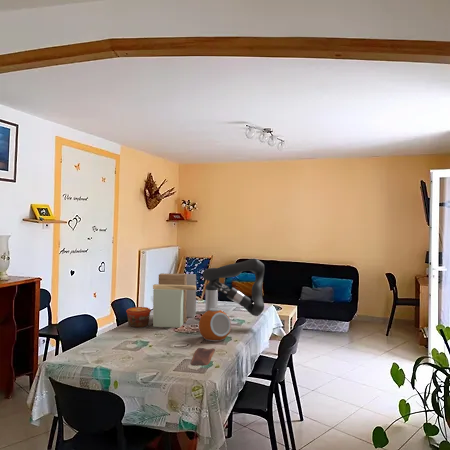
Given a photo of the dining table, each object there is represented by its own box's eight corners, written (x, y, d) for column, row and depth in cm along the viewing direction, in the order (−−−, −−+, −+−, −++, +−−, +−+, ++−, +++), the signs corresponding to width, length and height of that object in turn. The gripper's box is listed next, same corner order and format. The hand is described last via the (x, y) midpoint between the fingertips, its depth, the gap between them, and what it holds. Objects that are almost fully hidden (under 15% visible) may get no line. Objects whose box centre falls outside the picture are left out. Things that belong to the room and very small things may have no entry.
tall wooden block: (159, 318, 298) (160, 273, 297) (188, 319, 296) (188, 273, 295) (156, 322, 289) (156, 274, 288) (185, 323, 287) (185, 275, 286)
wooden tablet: (208, 364, 203) (188, 360, 204) (207, 368, 203) (187, 365, 205) (216, 348, 230) (197, 344, 231) (215, 352, 230) (197, 349, 231)
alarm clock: (208, 344, 239) (208, 313, 239) (193, 336, 254) (193, 307, 253) (236, 339, 249) (236, 309, 249) (220, 332, 264) (221, 304, 264)
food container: (120, 326, 276) (120, 310, 276) (136, 321, 290) (136, 305, 290) (140, 329, 268) (140, 312, 268) (155, 324, 282) (155, 308, 282)
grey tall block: (195, 315, 309) (196, 274, 309) (194, 317, 303) (194, 275, 303) (176, 314, 310) (176, 273, 310) (174, 316, 305) (175, 274, 304)
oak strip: (154, 288, 283) (154, 284, 283) (196, 289, 280) (196, 285, 280) (153, 288, 279) (153, 285, 279) (195, 290, 276) (195, 286, 276)
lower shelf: (156, 323, 286) (157, 287, 285) (183, 324, 284) (183, 288, 283) (153, 326, 277) (153, 289, 276) (180, 327, 275) (180, 290, 274)
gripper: (239, 288, 283) (218, 276, 284) (237, 292, 269) (215, 279, 270) (233, 298, 284) (212, 285, 285) (231, 302, 269) (209, 289, 271)
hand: (214, 282), depth 277 cm, fingers open, 8 cm apart
